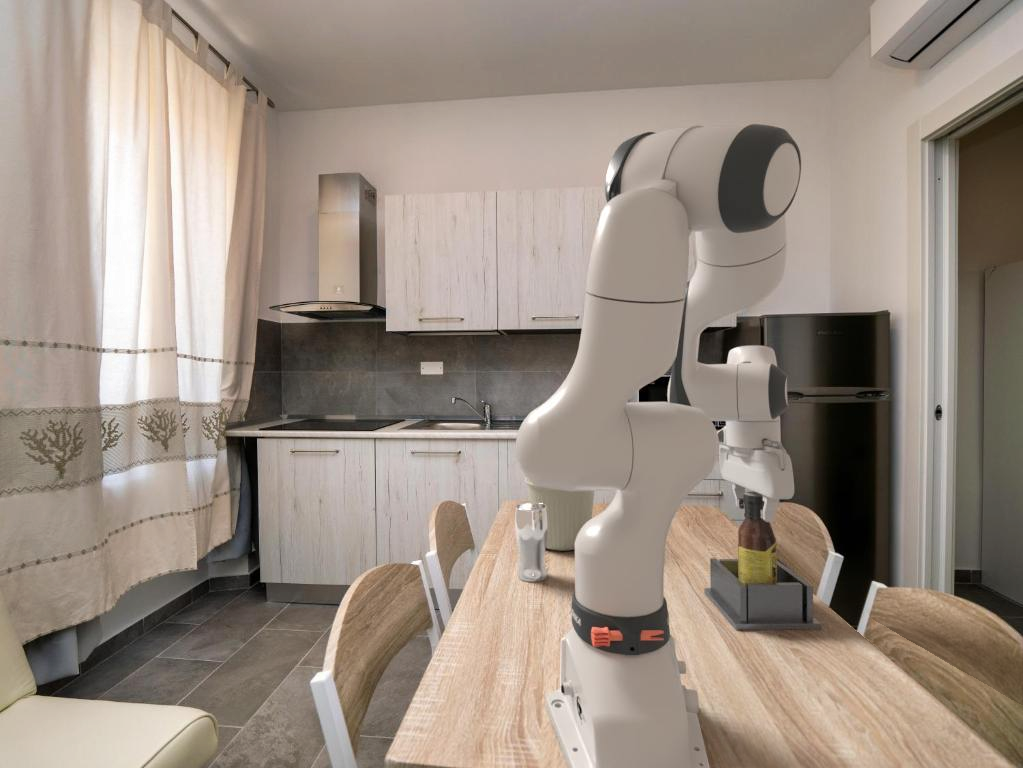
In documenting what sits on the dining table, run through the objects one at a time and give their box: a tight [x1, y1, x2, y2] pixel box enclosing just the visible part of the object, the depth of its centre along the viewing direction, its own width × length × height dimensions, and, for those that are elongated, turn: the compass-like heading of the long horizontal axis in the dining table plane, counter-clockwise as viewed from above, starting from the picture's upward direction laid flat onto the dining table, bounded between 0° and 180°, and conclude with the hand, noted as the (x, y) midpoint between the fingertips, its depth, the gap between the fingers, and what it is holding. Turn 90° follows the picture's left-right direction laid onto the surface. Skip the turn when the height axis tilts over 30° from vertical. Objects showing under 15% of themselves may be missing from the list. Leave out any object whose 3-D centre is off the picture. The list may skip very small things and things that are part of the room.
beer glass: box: [514, 501, 548, 583], centre depth 106 cm, size 7×7×15 cm
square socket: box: [703, 557, 822, 631], centre depth 90 cm, size 14×14×7 cm
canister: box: [524, 477, 595, 552], centre depth 126 cm, size 18×18×21 cm
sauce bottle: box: [737, 491, 778, 585], centre depth 90 cm, size 7×6×20 cm
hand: (754, 514), depth 90 cm, fingers open, 8 cm apart
